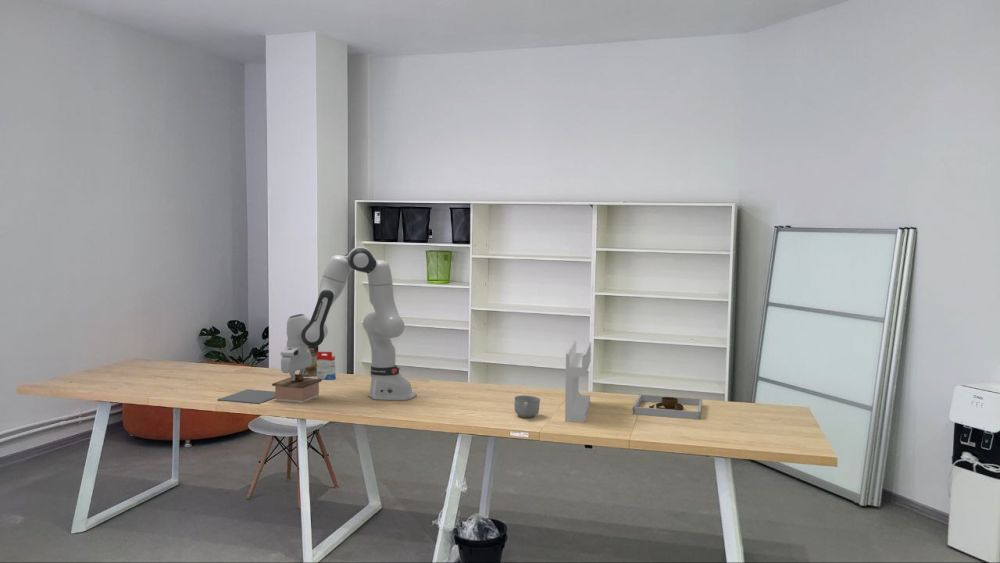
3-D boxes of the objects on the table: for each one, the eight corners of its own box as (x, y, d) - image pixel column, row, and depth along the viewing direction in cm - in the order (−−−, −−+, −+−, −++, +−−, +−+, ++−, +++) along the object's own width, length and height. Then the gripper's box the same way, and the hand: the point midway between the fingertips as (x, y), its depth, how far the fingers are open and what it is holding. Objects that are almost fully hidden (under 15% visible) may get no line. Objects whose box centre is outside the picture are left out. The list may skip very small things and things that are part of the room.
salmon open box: (318, 396, 348) (318, 381, 348) (302, 402, 335) (302, 387, 334) (292, 394, 352) (292, 379, 352) (275, 400, 339) (275, 385, 338)
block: (572, 401, 340) (573, 341, 338) (589, 402, 339) (590, 341, 337) (565, 421, 306) (566, 354, 304) (584, 422, 304) (585, 354, 302)
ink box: (335, 378, 389) (335, 350, 388) (332, 380, 384) (332, 352, 383) (319, 377, 390) (319, 350, 389) (316, 379, 385) (316, 351, 384)
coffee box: (300, 377, 391) (300, 346, 390) (300, 374, 397) (299, 345, 396) (318, 376, 394) (318, 346, 393) (317, 373, 400) (317, 344, 399)
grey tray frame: (702, 405, 335) (702, 398, 335) (700, 419, 310) (700, 412, 310) (639, 400, 343) (639, 394, 343) (632, 414, 318) (632, 407, 318)
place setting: (693, 409, 330) (693, 396, 330) (681, 419, 313) (682, 405, 312) (654, 404, 339) (654, 391, 338) (641, 413, 321) (641, 400, 321)
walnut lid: (321, 381, 348) (321, 372, 348) (303, 388, 333) (303, 379, 333) (291, 378, 353) (291, 370, 353) (272, 385, 338) (272, 377, 337)
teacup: (518, 412, 321) (518, 393, 320) (542, 414, 318) (542, 395, 317) (509, 420, 307) (509, 401, 307) (534, 422, 304) (534, 403, 304)
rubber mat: (287, 393, 353) (287, 392, 353) (259, 404, 332) (259, 402, 332) (247, 390, 359) (247, 389, 359) (217, 400, 338) (217, 399, 338)
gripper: (303, 345, 353) (303, 374, 354) (278, 352, 333) (278, 383, 334) (314, 346, 351) (315, 375, 352) (290, 353, 331) (291, 384, 332)
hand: (297, 379), depth 343 cm, fingers open, 4 cm apart
